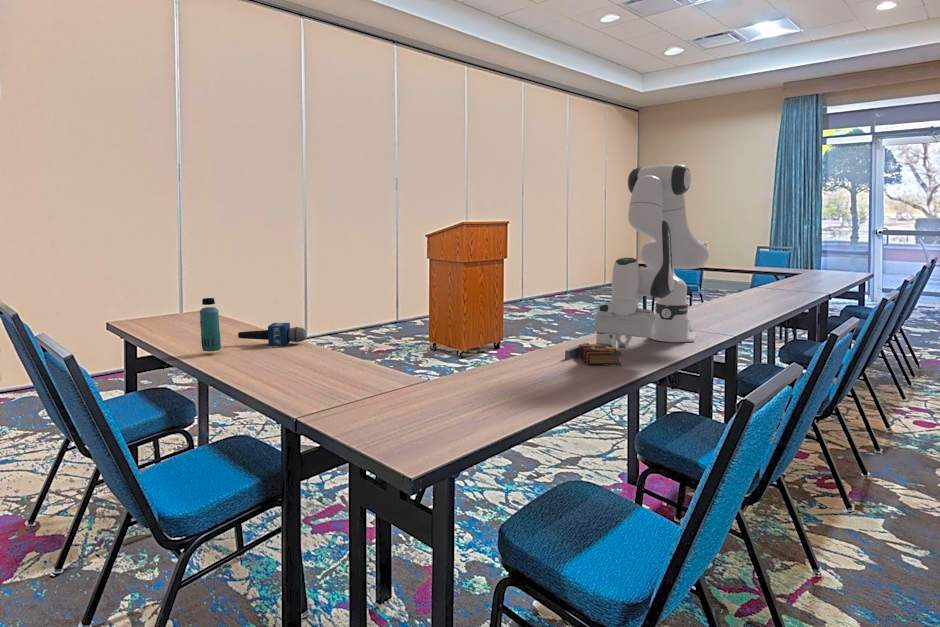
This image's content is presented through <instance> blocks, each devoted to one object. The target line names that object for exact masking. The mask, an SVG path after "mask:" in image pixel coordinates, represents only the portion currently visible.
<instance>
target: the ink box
mask: <svg viewBox="0 0 940 627" xmlns="http://www.w3.org/2000/svg"><path fill="white" fill-rule="evenodd" d="M595 333H596V340H595V341H596V342H595V344H611V345H612V346H613V347H615V348H617V340H616V339H615V334H608V333H600V332H595Z"/></svg>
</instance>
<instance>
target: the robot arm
mask: <svg viewBox="0 0 940 627" xmlns="http://www.w3.org/2000/svg"><path fill="white" fill-rule="evenodd" d="M691 183H692V175H691V171H690V169H689V167H687V165H685V164H679V163H678V164H677V163H676V164H657V165H650V166H644V167H643V166H639V167H635V168H633V170H631V171H630V173H629V174H628V178H627V187H628V191H629V192H630V194H631V196H630V201H629V206H628V216H627V218H628V219H627V220H628V222H629V224H630V226H631V227H632V228H633V229H634V230H635V231H637V232H639V233H641V234H643V235H645V236H647V237H650V238H652V239H654V240H649V241H646V242H645V243H644V245H643V246H642V248H641V250H640V258H641V261H642V262H643V263H644V265H645V266H639V261H638V259H637V258H634V257H622V258H621V257H620V258H618V259H616V260H615V261H614V263H613V268H612V275H611V289H612V294H611V297H610V299H611V300H610V301H607V302H605V303H601V304H598V305H596V311H597V312H596V313H595V315H594V320H593V330H594V331H595V333H597V332H600V333H608V334H615V339H616V343H617V348H619V349H623V350H624V349H625V350H626V349H629V348H628V347H629V343H630V341H631V340H632V337H636V338H645V339H651V340H654V341H659V342H666V343H667V342H668V343H689V342H690V343H693V342H695V341H696V338H697V336H698V333H697V332H693V330H692V321H691V320H692V319H691V318H690V316H689V315H688V313H689V312H688V310H689V303H687V297H688V296H687V295H688V285H687V284H686V283H687V282H685V281H684V280H683V279H682V278H680V277H678V276H677V274H676V273H675V269H678V270H679V269H680V270H694V269H700V268H703V267H704V266H705V265H706V263H707V262H708V259H709V250H708V247H707V245H706V244H705V243H703V241H701V240H699V239H698V238H697V237H696V236H695V234H694V233H693V232H692V229H691V228H690V226H689V223H688V217H687V212H686V208H687V207H686V199H685V193H687V192H688V190H689V189H690V187H691ZM646 266H647V267H646ZM639 296H643V297H652V298H656V303H655V306H654V308H655V309H654V310H655V311H654V312H653V311H652V309H649V308H648V309H645V308H639ZM622 336H625V339H626V340H625V341H624V342H623V341H622V339H621V338H622Z"/></svg>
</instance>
